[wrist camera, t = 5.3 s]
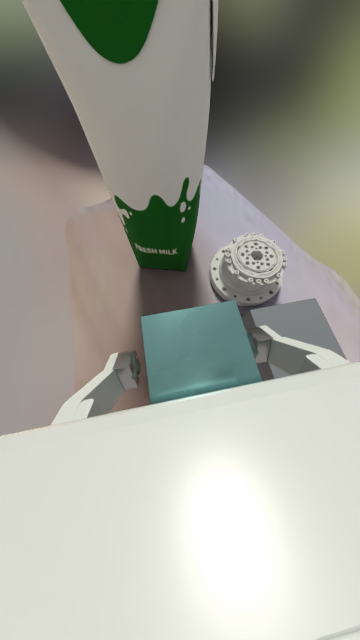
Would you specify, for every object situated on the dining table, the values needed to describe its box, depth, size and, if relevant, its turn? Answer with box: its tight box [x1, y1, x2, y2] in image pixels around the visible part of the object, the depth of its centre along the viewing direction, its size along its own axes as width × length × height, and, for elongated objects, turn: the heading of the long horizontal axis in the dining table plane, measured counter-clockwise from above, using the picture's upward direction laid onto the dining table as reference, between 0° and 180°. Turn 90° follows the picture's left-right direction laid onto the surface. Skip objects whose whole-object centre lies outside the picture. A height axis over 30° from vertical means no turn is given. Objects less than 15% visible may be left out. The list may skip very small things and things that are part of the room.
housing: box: [141, 300, 262, 405], centre depth 11 cm, size 5×4×9 cm
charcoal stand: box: [241, 298, 347, 381], centre depth 17 cm, size 8×8×3 cm
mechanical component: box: [209, 233, 287, 307], centre depth 20 cm, size 10×4×10 cm
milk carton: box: [21, 0, 218, 271], centre depth 13 cm, size 9×9×20 cm
